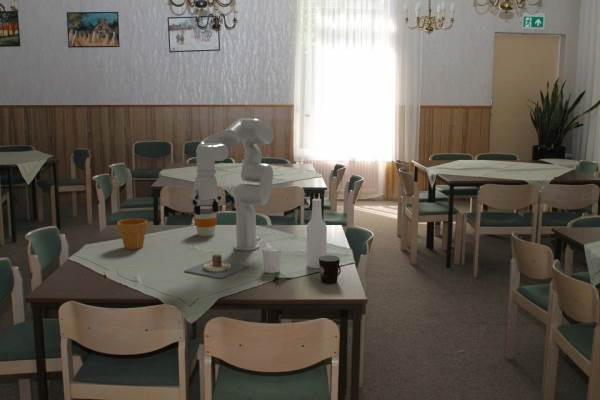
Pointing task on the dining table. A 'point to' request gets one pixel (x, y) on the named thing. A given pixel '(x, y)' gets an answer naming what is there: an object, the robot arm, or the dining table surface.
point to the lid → (217, 264)
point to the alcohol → (316, 236)
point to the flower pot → (132, 232)
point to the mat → (219, 275)
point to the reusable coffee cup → (205, 221)
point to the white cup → (272, 259)
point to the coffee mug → (329, 268)
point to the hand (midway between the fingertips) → (206, 213)
